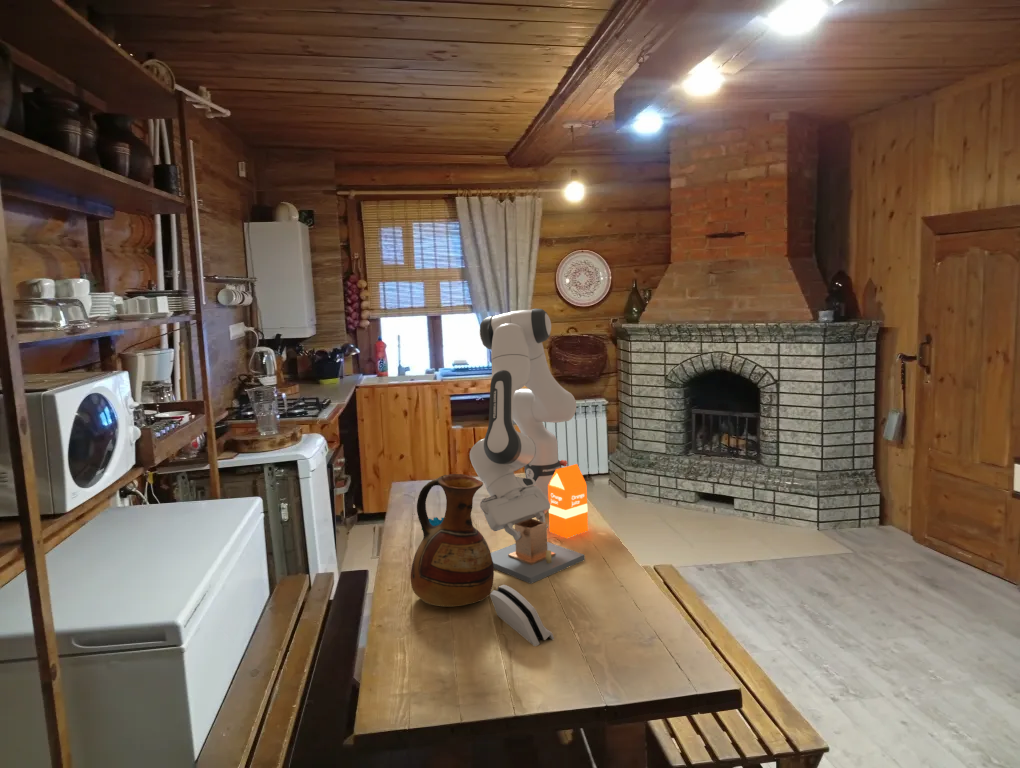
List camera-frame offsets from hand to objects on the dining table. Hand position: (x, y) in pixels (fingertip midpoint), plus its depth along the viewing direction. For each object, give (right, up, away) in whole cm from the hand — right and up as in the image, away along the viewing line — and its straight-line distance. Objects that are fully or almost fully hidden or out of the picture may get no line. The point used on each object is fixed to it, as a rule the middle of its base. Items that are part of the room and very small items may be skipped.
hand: (532, 534), depth 186 cm
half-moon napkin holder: (-4, -13, -35) cm, 37 cm away
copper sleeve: (0, -6, +1) cm, 6 cm away
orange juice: (+12, -4, +23) cm, 26 cm away
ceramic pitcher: (-20, -12, -18) cm, 29 cm away
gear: (-27, -6, +22) cm, 35 cm away
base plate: (0, -8, +2) cm, 8 cm away
